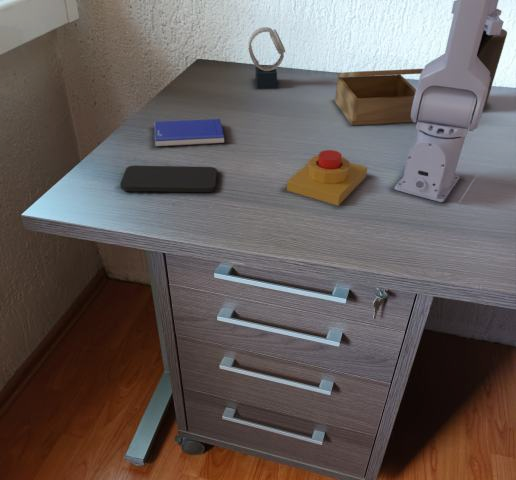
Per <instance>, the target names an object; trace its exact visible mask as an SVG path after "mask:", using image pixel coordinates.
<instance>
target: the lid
mask: <svg viewBox="0 0 516 480" xmlns="http://www.w3.org/2000/svg"><path fill="white" fill-rule="evenodd" d="M423 69H424V68H408V69H387V70H386V69H384V70H383V69H382V70H365V71H363V70H362V71H361V70H360V71H347V72H337V78H340V77H362V76H383V75H401V76H402V75H417V74H418V75H421V72H422V70H423Z"/></svg>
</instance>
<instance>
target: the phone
mask: <svg viewBox="0 0 516 480" xmlns="http://www.w3.org/2000/svg"><path fill="white" fill-rule="evenodd" d="M122 175H123V176H122V178H121V181H120V189H121V190H123V191H125V192H126V191H128V192H132V191H133V192H172V193H173V192H176V193H177V192H178V193H211V192H214V191H216V187H217V178H218V169H217V168H216V167H213V166H182V165H181V166H180V165H179V166H177V165H175V166H174V165H129V166H127V167H126V168H125V171H124V173H123V174H122Z"/></svg>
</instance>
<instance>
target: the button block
mask: <svg viewBox="0 0 516 480" xmlns="http://www.w3.org/2000/svg"><path fill="white" fill-rule="evenodd" d="M318 158H319V154H317V155H314V156H312V157H311V158H310V159H309V160H308V163H307V164H306V165H304V166H303V167H302V168H301V169H300V170H298V171H297V172H296V173H295V174H294V175H292V176H291V177H290V178H289V179H288V180H286V181H287V182H286V191H287V192H290V193H293V194H294V193H295V194H298V195H301V196H305V197H308V198H311V199H315V200H318V201H321V202H325V203H328V204H331V205H335V206H339V205H341V203H343V202H344V200H345V199H346V198H347V197H348V196H349V195H350V194H351V193H352V192H353V191H354V190H355V189H356V188H357V187H358V186H359V185H360V184H361V183H362V182H363V180H365V179H366V177H367V173H368V167H367V166H364V165H359V164H355V163H352V162H350V161H349V159H347V158H345V157H344V156H342V159H341V167H340V168H338V169H324V168H320V167H319V166H318Z"/></svg>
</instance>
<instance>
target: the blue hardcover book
mask: <svg viewBox="0 0 516 480" xmlns="http://www.w3.org/2000/svg"><path fill="white" fill-rule="evenodd" d="M224 143H225V135H224V131H223V126H222V122H221V119H220V118H213V119H212V118H211V119H182V120H162V121H160V120H158V121H154V145H155V147H167V146H168V147H169V146H186V145H188V146H189V145H205V144H224Z"/></svg>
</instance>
